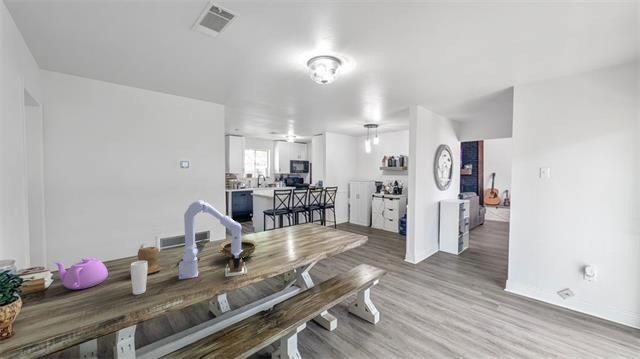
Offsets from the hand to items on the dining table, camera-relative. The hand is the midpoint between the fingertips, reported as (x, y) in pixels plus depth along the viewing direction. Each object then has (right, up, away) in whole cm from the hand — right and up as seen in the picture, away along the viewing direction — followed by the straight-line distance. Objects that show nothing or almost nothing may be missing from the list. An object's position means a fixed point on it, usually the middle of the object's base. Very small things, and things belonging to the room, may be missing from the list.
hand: (236, 265), depth 149 cm
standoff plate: (0, -4, 0) cm, 4 cm away
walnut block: (0, -3, 0) cm, 3 cm away
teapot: (-75, -3, -20) cm, 78 cm away
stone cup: (-52, -3, -4) cm, 52 cm away
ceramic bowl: (-6, -3, +25) cm, 26 cm away
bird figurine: (-34, -3, +17) cm, 38 cm away
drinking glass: (-39, -4, -26) cm, 47 cm away
